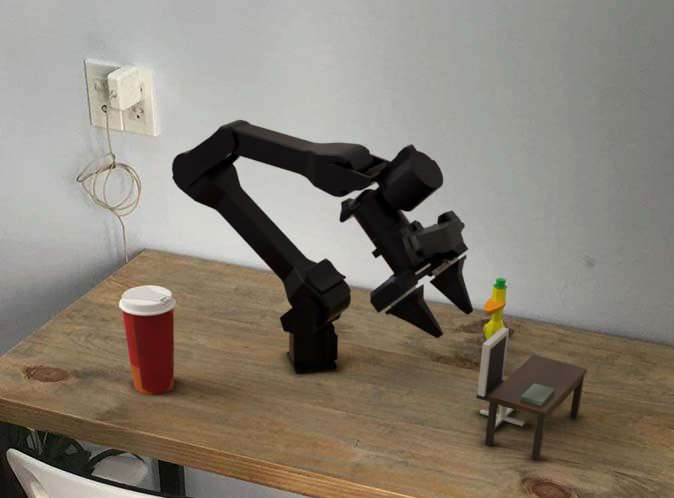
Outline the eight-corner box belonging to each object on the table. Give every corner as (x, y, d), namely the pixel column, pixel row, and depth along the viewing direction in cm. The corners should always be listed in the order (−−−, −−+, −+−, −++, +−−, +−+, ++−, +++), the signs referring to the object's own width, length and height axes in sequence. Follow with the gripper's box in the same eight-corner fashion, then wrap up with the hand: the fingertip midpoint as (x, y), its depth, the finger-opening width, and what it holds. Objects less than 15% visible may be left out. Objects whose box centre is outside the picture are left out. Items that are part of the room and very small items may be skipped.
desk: (483, 445, 151) (488, 391, 146) (527, 400, 162) (534, 349, 157) (537, 462, 148) (545, 408, 143) (579, 415, 159) (587, 364, 154)
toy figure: (492, 364, 171) (500, 291, 164) (470, 358, 173) (478, 285, 166) (509, 348, 176) (518, 276, 169) (488, 342, 177) (496, 271, 171)
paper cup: (191, 380, 163) (186, 290, 155) (161, 402, 157) (154, 310, 149) (146, 368, 166) (138, 279, 158) (115, 390, 160) (106, 298, 152)
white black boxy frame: (467, 424, 155) (475, 343, 149) (489, 403, 161) (497, 324, 154) (514, 438, 153) (525, 356, 146) (535, 417, 158) (546, 337, 151)
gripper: (394, 216, 139) (466, 319, 141) (460, 178, 153) (526, 273, 154) (339, 263, 147) (408, 360, 148) (407, 222, 160) (470, 312, 162)
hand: (455, 324), depth 153 cm, fingers open, 9 cm apart
